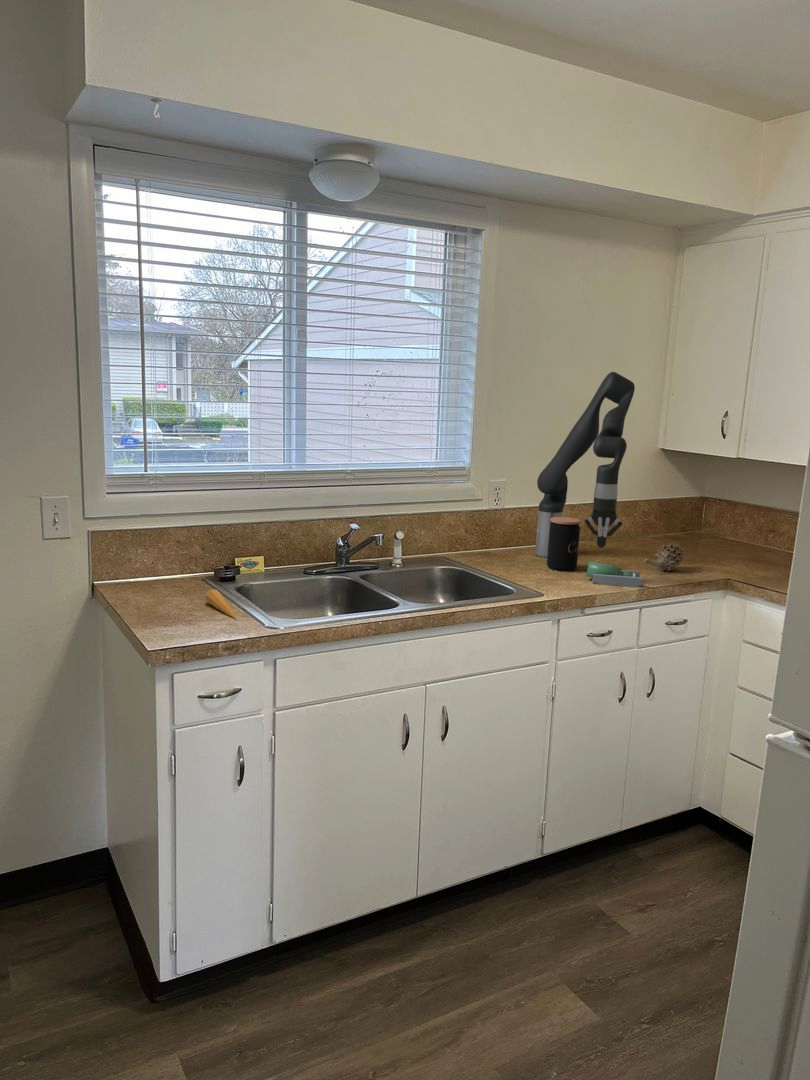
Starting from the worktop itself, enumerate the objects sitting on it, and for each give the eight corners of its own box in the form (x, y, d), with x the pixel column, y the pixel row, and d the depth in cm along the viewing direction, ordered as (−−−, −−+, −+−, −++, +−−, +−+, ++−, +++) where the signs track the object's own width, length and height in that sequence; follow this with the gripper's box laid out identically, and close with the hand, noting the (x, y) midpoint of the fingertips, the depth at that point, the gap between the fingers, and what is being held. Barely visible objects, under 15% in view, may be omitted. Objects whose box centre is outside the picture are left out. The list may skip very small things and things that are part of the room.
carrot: (206, 605, 235) (201, 592, 233) (221, 597, 237) (215, 584, 235) (232, 631, 219) (226, 617, 217) (247, 623, 221) (242, 609, 219)
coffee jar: (570, 573, 288) (574, 523, 285) (541, 568, 294) (545, 519, 290) (580, 568, 297) (585, 519, 294) (553, 563, 303) (556, 515, 299)
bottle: (589, 563, 277) (637, 572, 275) (589, 559, 282) (635, 568, 280) (586, 577, 278) (633, 587, 276) (586, 574, 283) (632, 583, 281)
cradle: (592, 583, 275) (593, 575, 275) (591, 576, 286) (591, 567, 285) (642, 587, 273) (643, 578, 272) (638, 579, 283) (639, 571, 283)
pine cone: (664, 565, 309) (667, 539, 307) (688, 569, 302) (691, 543, 300) (634, 573, 293) (637, 546, 291) (659, 578, 287) (662, 550, 285)
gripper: (585, 496, 272) (581, 548, 275) (626, 499, 270) (622, 551, 273) (584, 493, 279) (580, 543, 283) (624, 496, 277) (620, 546, 281)
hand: (600, 547), depth 278 cm, fingers closed
